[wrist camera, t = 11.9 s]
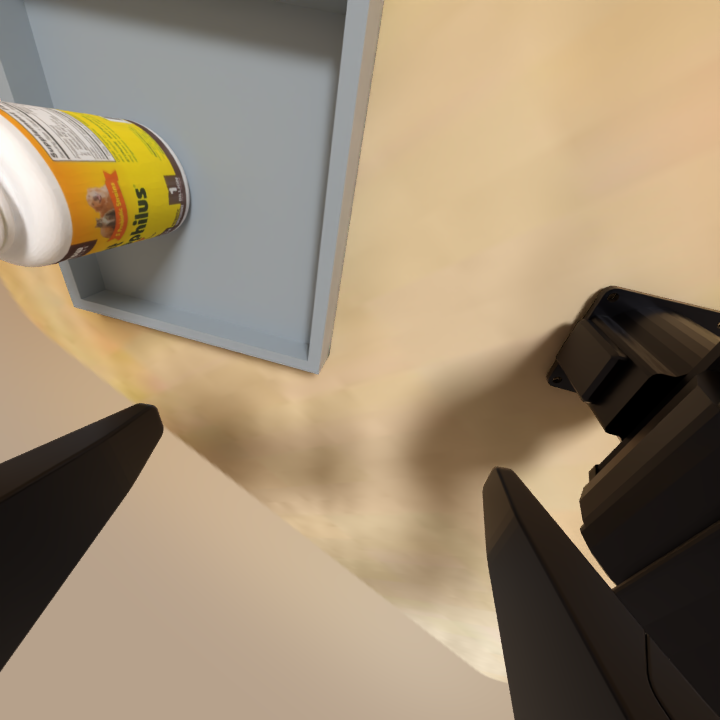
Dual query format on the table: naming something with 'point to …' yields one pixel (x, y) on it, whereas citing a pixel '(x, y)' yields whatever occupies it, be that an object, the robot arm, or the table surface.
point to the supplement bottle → (82, 184)
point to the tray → (217, 154)
